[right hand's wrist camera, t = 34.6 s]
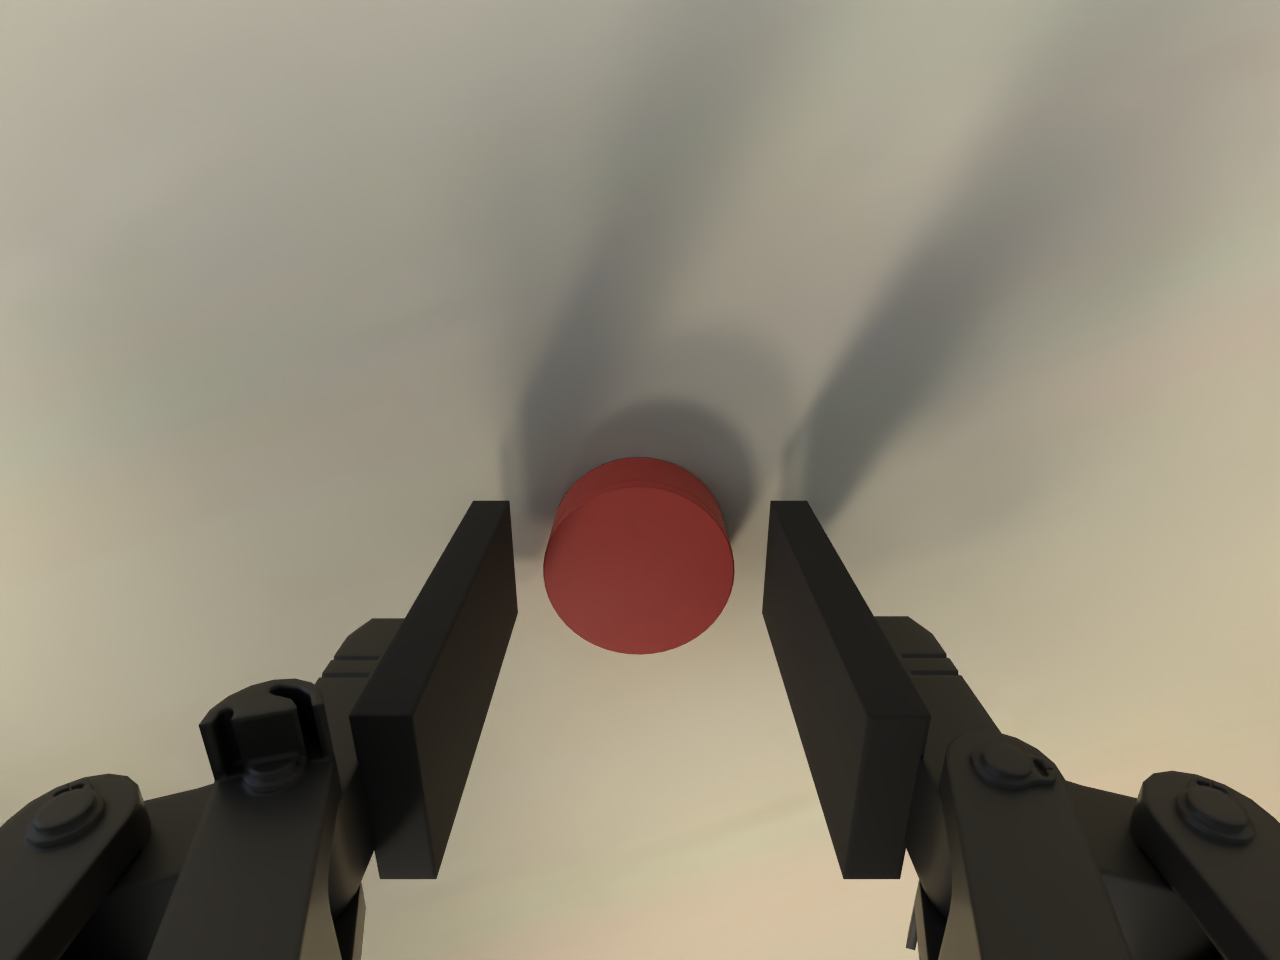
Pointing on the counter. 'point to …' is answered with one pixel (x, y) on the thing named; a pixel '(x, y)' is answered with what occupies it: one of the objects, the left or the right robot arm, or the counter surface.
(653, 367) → the counter surface
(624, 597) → the cap
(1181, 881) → the right robot arm
